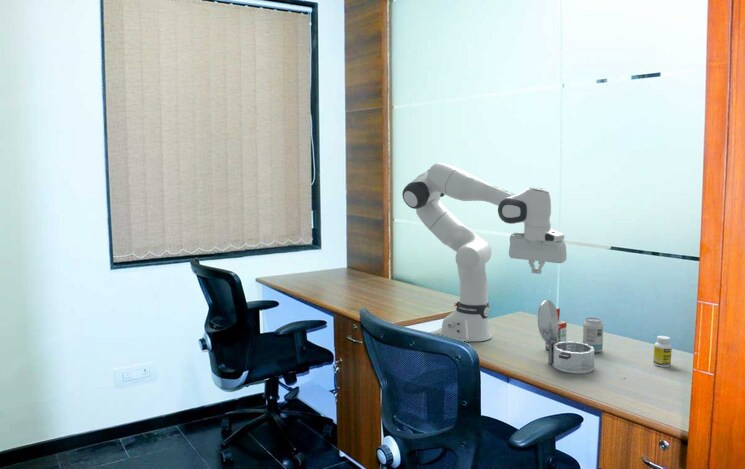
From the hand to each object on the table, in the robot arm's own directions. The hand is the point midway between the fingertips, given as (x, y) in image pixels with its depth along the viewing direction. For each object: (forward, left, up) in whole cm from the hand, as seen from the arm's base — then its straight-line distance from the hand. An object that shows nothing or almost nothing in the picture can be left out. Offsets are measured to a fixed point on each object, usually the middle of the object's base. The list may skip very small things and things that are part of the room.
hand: (536, 273), depth 210 cm
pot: (+14, 0, -31) cm, 34 cm away
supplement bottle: (+37, +21, -31) cm, 53 cm away
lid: (+6, 0, -17) cm, 18 cm away
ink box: (+1, +16, -31) cm, 35 cm away
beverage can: (+13, +21, -31) cm, 40 cm away
